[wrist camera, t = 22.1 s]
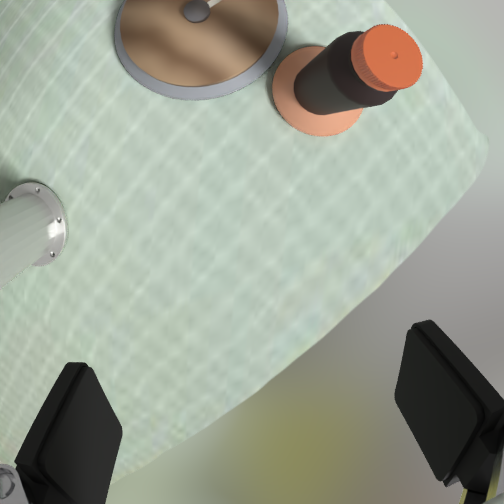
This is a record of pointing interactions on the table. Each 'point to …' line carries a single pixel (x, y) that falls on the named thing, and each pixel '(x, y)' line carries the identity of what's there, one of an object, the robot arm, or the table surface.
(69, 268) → the table surface
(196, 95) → the wheel base
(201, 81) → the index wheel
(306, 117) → the peach dome
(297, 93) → the vinegar
